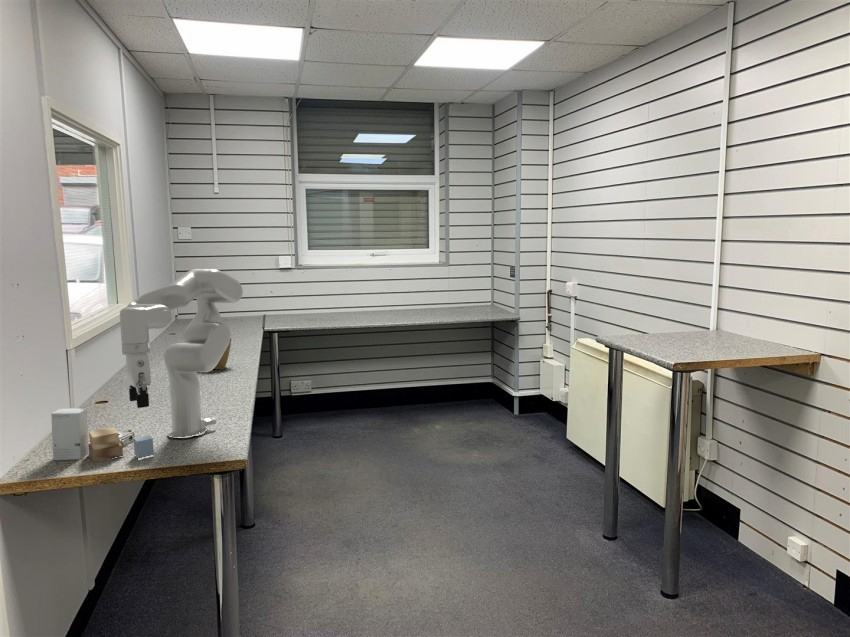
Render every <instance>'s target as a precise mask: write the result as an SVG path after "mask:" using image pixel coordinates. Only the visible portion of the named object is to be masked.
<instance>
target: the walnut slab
mask: <svg viewBox="0 0 850 637" xmlns="http://www.w3.org/2000/svg"><path fill="white" fill-rule="evenodd" d="M88 452H89V453H88V455H89V457H90V459H91V461H92V462H93V464H95V463H96V462H97V463H100V461H101V462H105V461H104V460H106V461H108V460H107V459H111V460H113V459H112V458H115V457H119V456H123V457H124V451H123V444H122V443H121V442H120V441H119V445H118V446H113V447H108V448H103V449H98V450H93V448H92V446H91V445H90V443H88ZM115 459H116V458H115Z"/></svg>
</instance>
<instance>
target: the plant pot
mask: <svg viewBox="0 0 850 637" xmlns="http://www.w3.org/2000/svg"><path fill="white" fill-rule="evenodd" d="M231 346H232V336H230V342H229V345H228V347H227V349H226V350H225V352H224V354H223V355H222V357H221V359H220V360H219V362H218V364H217V365H216V367H215V368H214V369H220V370H224V369H225V368H226V365H227V362H228V359H229V357H230V356H229V355H230V350H231ZM223 368H224V369H223Z"/></svg>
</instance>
